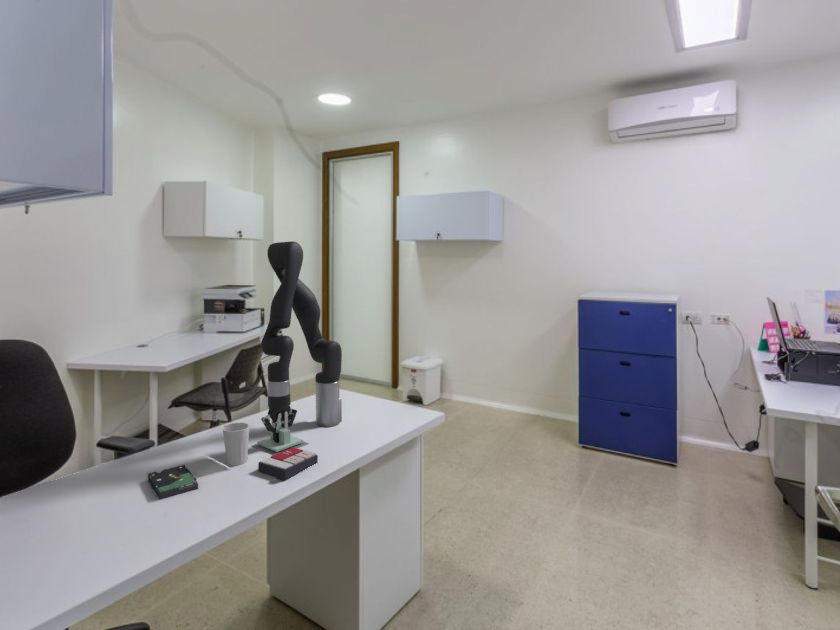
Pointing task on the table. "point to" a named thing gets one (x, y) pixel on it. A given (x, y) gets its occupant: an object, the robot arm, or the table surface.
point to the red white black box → (287, 463)
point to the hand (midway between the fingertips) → (280, 440)
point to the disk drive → (172, 482)
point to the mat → (278, 451)
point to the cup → (236, 443)
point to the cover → (280, 440)
